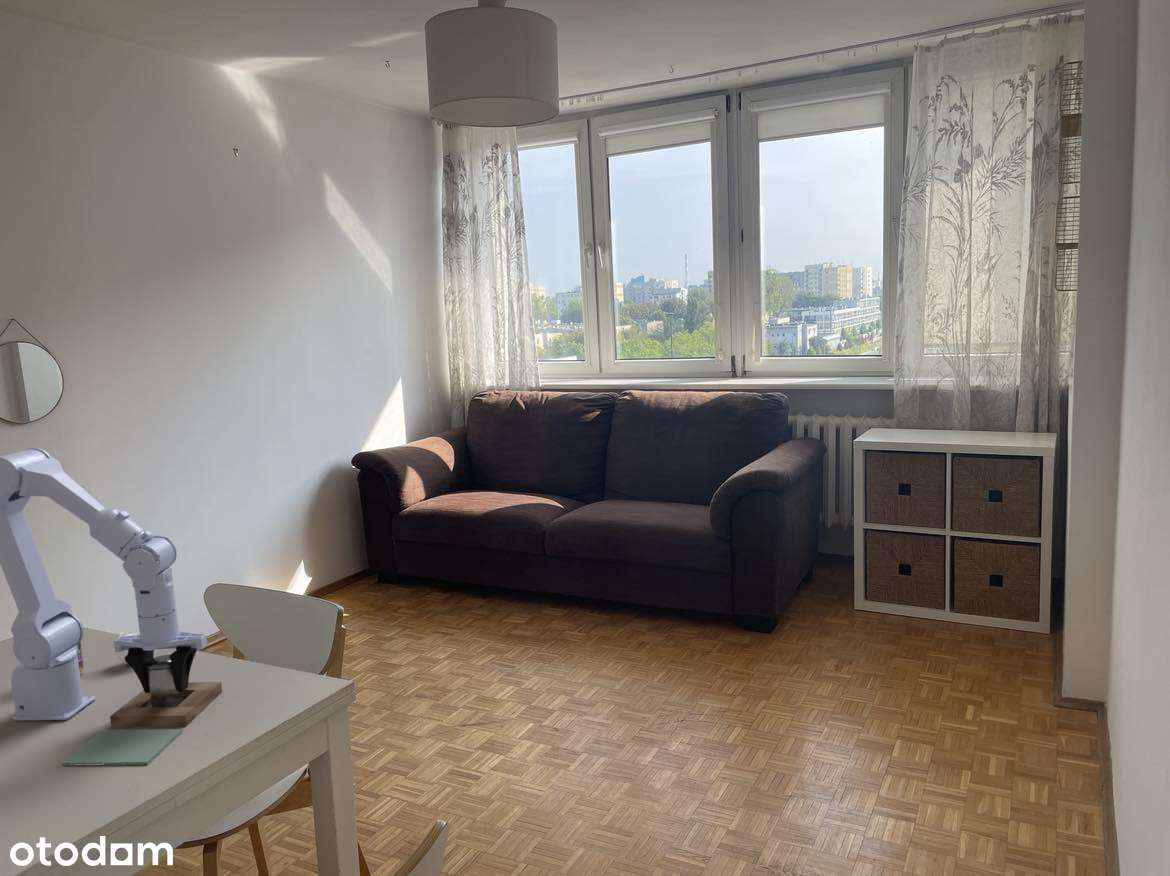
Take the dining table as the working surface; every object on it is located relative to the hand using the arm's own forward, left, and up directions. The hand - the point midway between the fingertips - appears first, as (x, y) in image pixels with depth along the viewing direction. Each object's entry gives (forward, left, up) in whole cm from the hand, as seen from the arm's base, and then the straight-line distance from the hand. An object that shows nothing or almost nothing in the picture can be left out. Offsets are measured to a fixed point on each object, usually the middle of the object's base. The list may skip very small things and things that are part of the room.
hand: (166, 690), depth 147 cm
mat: (0, -13, -3) cm, 13 cm away
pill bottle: (-27, +14, -3) cm, 31 cm away
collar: (0, 0, -3) cm, 3 cm away
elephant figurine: (-17, +20, -3) cm, 26 cm away
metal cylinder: (0, 0, -2) cm, 2 cm away
